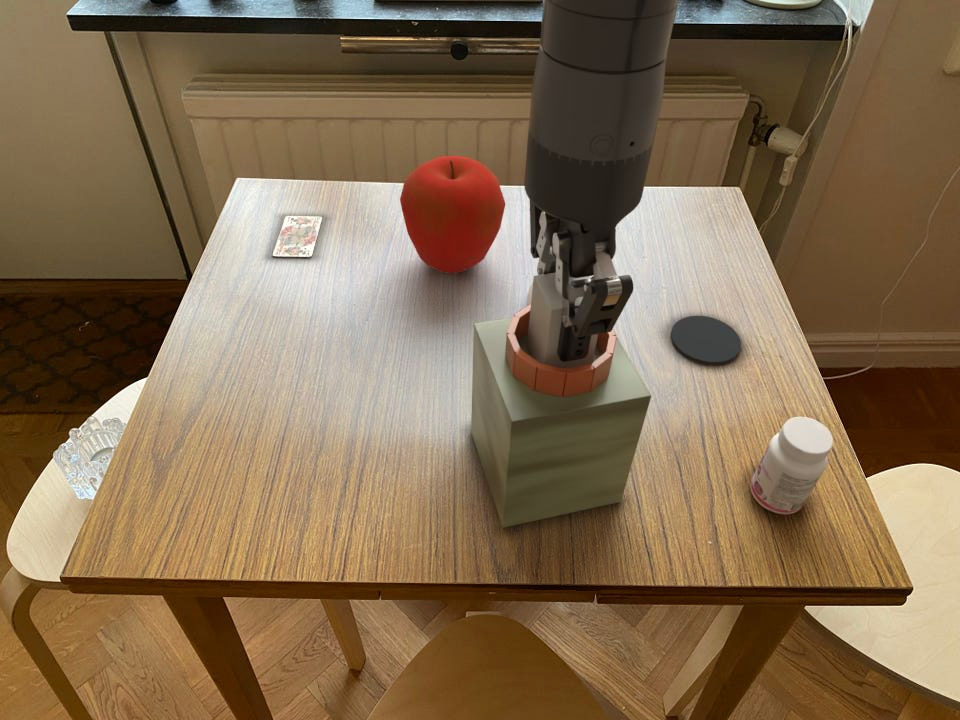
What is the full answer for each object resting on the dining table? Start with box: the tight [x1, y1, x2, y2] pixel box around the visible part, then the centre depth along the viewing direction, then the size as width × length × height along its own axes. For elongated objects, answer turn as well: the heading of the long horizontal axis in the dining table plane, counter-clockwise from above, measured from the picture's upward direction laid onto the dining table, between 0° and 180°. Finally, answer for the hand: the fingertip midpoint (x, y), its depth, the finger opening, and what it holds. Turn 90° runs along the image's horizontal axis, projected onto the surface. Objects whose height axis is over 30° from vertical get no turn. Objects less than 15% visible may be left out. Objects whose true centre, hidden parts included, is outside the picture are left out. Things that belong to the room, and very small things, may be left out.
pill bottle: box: [750, 416, 834, 515], centre depth 61 cm, size 5×5×8 cm
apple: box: [399, 155, 506, 274], centre depth 82 cm, size 12×12×14 cm
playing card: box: [272, 215, 323, 258], centre depth 90 cm, size 9×5×1 cm, turn 0°
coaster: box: [670, 315, 742, 366], centre depth 78 cm, size 8×8×1 cm
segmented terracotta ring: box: [505, 304, 618, 397], centre depth 55 cm, size 8×8×2 cm
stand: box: [470, 317, 652, 528], centre depth 61 cm, size 11×11×14 cm
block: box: [527, 273, 598, 368], centre depth 53 cm, size 4×4×7 cm
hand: (561, 335), depth 54 cm, fingers closed on block, 4 cm apart
